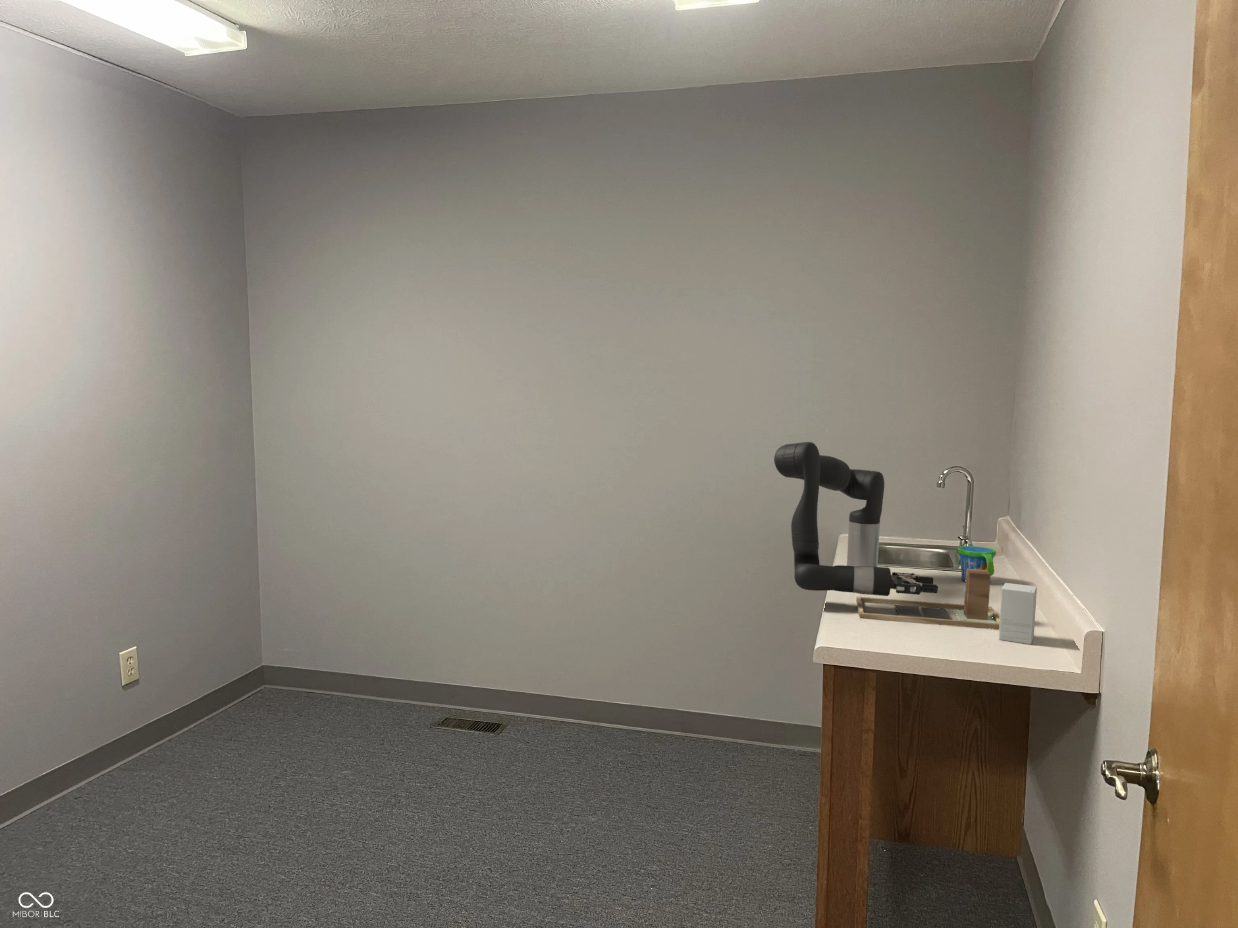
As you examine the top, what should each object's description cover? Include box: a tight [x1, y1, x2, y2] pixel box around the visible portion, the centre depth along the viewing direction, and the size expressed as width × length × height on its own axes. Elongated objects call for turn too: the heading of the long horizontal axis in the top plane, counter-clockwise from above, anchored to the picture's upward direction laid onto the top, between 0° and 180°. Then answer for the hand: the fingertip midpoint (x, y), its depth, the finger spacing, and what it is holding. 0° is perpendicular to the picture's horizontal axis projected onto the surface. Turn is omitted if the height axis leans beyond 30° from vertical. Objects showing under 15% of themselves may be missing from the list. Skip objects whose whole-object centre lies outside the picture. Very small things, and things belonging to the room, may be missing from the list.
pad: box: [953, 609, 996, 623], centre depth 226 cm, size 12×8×1 cm
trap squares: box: [894, 605, 953, 620], centre depth 229 cm, size 12×13×1 cm
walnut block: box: [963, 569, 992, 620], centre depth 225 cm, size 5×5×12 cm
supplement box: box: [998, 582, 1038, 645], centre depth 208 cm, size 7×7×13 cm
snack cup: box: [957, 545, 997, 581], centre depth 267 cm, size 16×10×10 cm
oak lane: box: [855, 596, 1000, 630], centre depth 228 cm, size 18×35×1 cm, turn 77°
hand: (935, 585), depth 227 cm, fingers open, 8 cm apart
